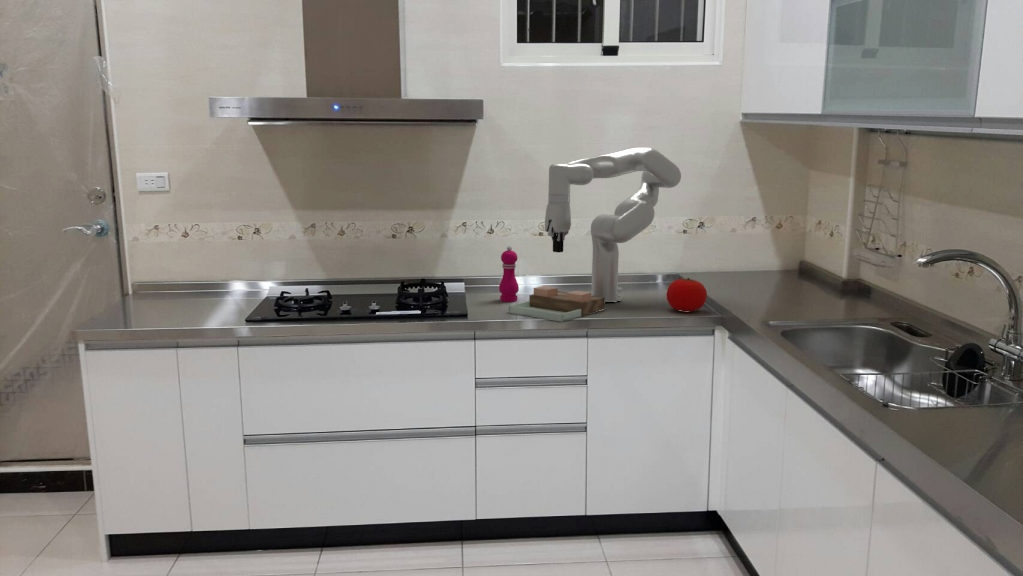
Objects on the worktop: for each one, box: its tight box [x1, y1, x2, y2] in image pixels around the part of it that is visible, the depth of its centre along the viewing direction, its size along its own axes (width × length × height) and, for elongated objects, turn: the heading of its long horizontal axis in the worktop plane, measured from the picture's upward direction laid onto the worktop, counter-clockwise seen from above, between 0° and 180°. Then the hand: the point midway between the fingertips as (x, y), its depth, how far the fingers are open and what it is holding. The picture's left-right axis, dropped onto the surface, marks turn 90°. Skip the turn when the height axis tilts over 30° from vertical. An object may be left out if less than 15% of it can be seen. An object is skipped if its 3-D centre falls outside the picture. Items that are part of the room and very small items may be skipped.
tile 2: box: [567, 290, 591, 302], centre depth 271 cm, size 6×6×2 cm
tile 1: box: [533, 285, 559, 297], centre depth 279 cm, size 6×6×2 cm
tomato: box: [665, 277, 708, 312], centre depth 276 cm, size 13×14×12 cm
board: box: [528, 290, 605, 317], centre depth 278 cm, size 14×22×4 cm, turn 52°
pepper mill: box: [498, 245, 520, 303], centre depth 291 cm, size 7×7×20 cm
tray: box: [508, 300, 582, 323], centre depth 268 cm, size 11×22×2 cm, turn 52°
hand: (557, 251), depth 282 cm, fingers closed
